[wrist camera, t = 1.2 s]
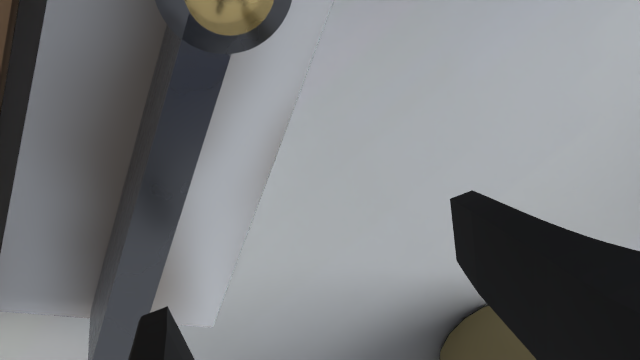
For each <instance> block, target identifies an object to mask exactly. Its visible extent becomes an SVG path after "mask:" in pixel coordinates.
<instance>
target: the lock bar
mask: <svg viewBox="0 0 640 360" xmlns="http://www.w3.org/2000/svg"><path fill="white" fill-rule="evenodd" d="M155 2H156V5H157V7H158V10H159V12H160V14H161V16H162V18H163V19H164V21H165V22H166V24H167V26H166V29H165V33H164V37H163V41H162V44H161V48H160V52H159V56H158V59H157V63H156V67H155V71H154V74H153V78H152V82H151V86H150V89H149V93H148V97H147V101H146V104H145V108H144V112H143V116H142V119H141V123H140V127H139V131H138V134H137V138H136V142H135V146H134V149H133V153H132V157H131V161H130V164H129V168H128V172H127V176H126V179H125V183H124V187H123V191H122V194H121V198H120V202H119V206H118V209H117V213H116V217H115V221H114V224H113V228H112V232H111V236H110V239H109V243H108V247H107V251H106V254H105V258H104V262H103V266H102V269H101V273H100V277H99V281H98V284H97V288H96V292H95V296H94V299H93V303H92V307H91V311H90V331H89V353H88V360H128V358H129V355H130V351H131V348H132V345H133V341H134V337H135V334H136V330H137V326H138V322H139V320H140V318H141V316H143V315H146V314H148V313H150V311H151V308H152V305H153V301H154V298H155V295H156V292H157V289H158V285H159V282H160V279H161V276H162V273H163V270H164V266H165V263H166V260H167V257H168V254H169V251H170V247H171V244H172V241H173V238H174V235H175V232H176V228H177V225H178V222H179V219H180V216H181V213H182V209H183V206H184V203H185V200H186V197H187V193H188V190H189V187H190V184H191V181H192V178H193V174H194V171H195V168H196V165H197V162H198V159H199V155H200V152H201V149H202V146H203V143H204V140H205V136H206V133H207V130H208V127H209V124H210V120H211V117H212V114H213V111H214V108H215V105H216V101H217V98H218V95H219V92H220V89H221V86H222V82H223V79H224V76H225V73H226V70H227V67H228V63H229V60H230V57H231V54H234V53H240V52H244V51H247V50H250V49H252V48H254V47H256V46H258V45H260V44H261V43H263V42H264V41H266V40H267V39H268V38H269V37H271V36H272V35H273V34H274V33H275V32H276V31H277V29H278V28H279V27H280V25H281V24H282V23H283V21H284V19H285V17H286V16H287V13H288V11H289V9H290V6H291V2H292V0H155Z"/></svg>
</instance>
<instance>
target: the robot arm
mask: <svg viewBox="0 0 640 360" xmlns="http://www.w3.org/2000/svg"><path fill="white" fill-rule="evenodd" d="M450 203H451V212H452V221H453V231H454V240H455V249H456V259H457V262H458V263H459V265H460V267H461V268H462V270H463V271H464V273H465V274H466V276H467V277H468V279H469V280H470V282H471V283H472V285H473V286H474V288H475V289H476V290H477V292H478V293H479V294H480V296H481V297H482V298H483V299H484V300H485V301H486V303H487V304H488V305H489V306H490V307H491V308H492V310H493V311H494V312H495V313H496V314H497V315H498V316H499V318H500V319H501V320H502V321H503V322H504V323H505V324H506V325H507V327H508V328H509V329H510V330H511V331H512V332H513V333H514V335H515V336H516V337H517V338H518V339H519V340H520V341H521V342H522V344H523V345H524V346H525V347H526V348H527V349H528V350H529V352H530V353H531V354H532V355H533V356H534V357H535V358H536V360H640V251H636V250H632V249H628V248H625V247H621V246H617V245H614V244H610V243H606V242H603V241H600V240H596V239H593V238H590V237H587V236H584V235H581V234H578V233H576V232H573V231H570V230H567V229H564V228H561V227H559V226H556V225H553V224H551V223H548V222H546V221H543V220H541V219H538V218H536V217H533V216H531V215H529V214H526V213H524V212H521V211H519V210H517V209H514V208H512V207H510V206H507V205H505V204H503V203H501V202H498V201H496V200H494V199H491V198H489V197H487V196H484V195H482V194H480V193H477V192H475V191H470V192H467V193H464V194H462V195H459V196H456V197H454V198H451V199H450ZM128 360H194V358H193V356H192V354H191V352H190V350H189V348H188V346H187V344H186V342H185V340H184V338H183V336H182V334H181V332H180V330H179V328H178V326H177V324H176V322H175V320H174V318H173V316H172V314H171V312H170V310H169V308H168V306H167V307H164V308H161V309H159V310H156V311H154V312H151V313H148V314H146V315H143V316H141V318H140V320H139V322H138V326H137V330H136V334H135V337H134V341H133V345H132V348H131V351H130V355H129V358H128Z"/></svg>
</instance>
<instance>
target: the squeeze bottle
mask: <svg viewBox="0 0 640 360" xmlns="http://www.w3.org/2000/svg"><path fill="white" fill-rule="evenodd" d="M440 360H536V358H535V357H534V356H533V355H532V354H531V353H530V352H529V350H528V349H527V348H526V347H525V346H524V345H523V344H522V342H521V341H520V340H519V339H518V338H517V337H516V336H515V335H514V333H513V332H512V331H511V330H510V329H509V328H508V327H507V325H506V324H505V323H504V322H503V321H502V320H501V319H500V318H499V316H498V315H497V314H496V313H495V312H494V311H493V310H492V308H491V307H490V306H486V307H483V308H482V309H480V310H478V311H477V312H475V313H473V314H472V315H470V316H468V317H467V318H465V319H464V320H463V321H462V322H461V323H460V324H459V325H458V326H457V327H456V328H455V329H454V330H453V331H452V332H451V333H450V334H449V336H448V338H447V340H446V342H445V343H444V345H443V347H442V349H441V351H440Z"/></svg>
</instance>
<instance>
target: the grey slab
mask: <svg viewBox="0 0 640 360" xmlns="http://www.w3.org/2000/svg"><path fill="white" fill-rule="evenodd" d="M333 2H334V0H292V2H291V6H290V9H289V11H288V13H287V16H286V17H285V19H284V21H283V23H282V24H281V25H280V27H279V28H278V29H277V31H276V32H275V33H274V34H273V35H272V36H271V37H269V38H268V39H267V40H266V41H264V42H263V43H261V44H260V45H258V46H256V47H254V48H252V49H250V50H247V51H244V52H240V53H234V54H231V57H230V60H229V63H228V67H227V70H226V73H225V76H224V79H223V82H222V86H221V89H220V92H219V95H218V98H217V101H216V105H215V108H214V111H213V114H212V117H211V120H210V124H209V127H208V130H207V133H206V136H205V140H204V143H203V146H202V149H201V152H200V155H199V159H198V162H197V165H196V168H195V171H194V174H193V178H192V181H191V184H190V187H189V190H188V193H187V197H186V200H185V203H184V206H183V209H182V213H181V216H180V219H179V222H178V225H177V228H176V232H175V235H174V238H173V241H172V244H171V247H170V251H169V254H168V257H167V260H166V263H165V266H164V270H163V273H162V276H161V279H160V282H159V285H158V289H157V292H156V295H155V298H154V301H153V305H152V308H151V311H150V313H151V312H154V311H156V310H159V309H161V308H164V307H167V306H168V308H169V310H170V312H171V314H172V316H173V318H174V320H175V322H176V324H177V325H185V326H198V327H211V328H213V326H214V323H215V320H216V318H217V315H218V312H219V310H220V307H221V304H222V302H223V299H224V296H225V293H226V291H227V288H228V285H229V283H230V280H231V277H232V275H233V272H234V269H235V267H236V264H237V261H238V258H239V256H240V253H241V250H242V248H243V245H244V242H245V240H246V237H247V234H248V231H249V229H250V226H251V223H252V221H253V218H254V215H255V213H256V210H257V207H258V204H259V202H260V199H261V196H262V194H263V191H264V188H265V186H266V183H267V180H268V177H269V175H270V172H271V169H272V167H273V164H274V161H275V159H276V156H277V153H278V150H279V148H280V145H281V142H282V140H283V137H284V134H285V132H286V129H287V126H288V123H289V121H290V118H291V115H292V113H293V110H294V107H295V105H296V102H297V99H298V96H299V94H300V91H301V88H302V86H303V83H304V80H305V78H306V75H307V72H308V70H309V67H310V64H311V61H312V59H313V56H314V53H315V51H316V48H317V45H318V43H319V40H320V37H321V34H322V32H323V29H324V26H325V24H326V21H327V18H328V16H329V13H330V10H331V7H332V5H333ZM18 6H19V0H0V114H1V108H2V102H3V96H4V90H5V84H6V78H7V72H8V66H9V60H10V54H11V48H12V42H13V36H14V30H15V24H16V18H17V12H18ZM166 26H167V24H166V22H165V21H164V19H163V18H162V16H161V14H160V12H159V10H158V7H157V5H156V2H155V0H47V5H46V10H45V16H44V21H43V27H42V32H41V37H40V43H39V48H38V54H37V59H36V64H35V70H34V75H33V80H32V86H31V91H30V97H29V102H28V107H27V113H26V118H25V124H24V129H23V134H22V140H21V145H20V151H19V156H18V161H17V167H16V172H15V178H14V183H13V188H12V194H11V199H10V205H9V210H8V215H7V221H6V226H5V232H4V237H3V242H2V248H1V253H0V311H1V312H15V313H28V314H41V315H54V316H67V317H80V318H90V311H91V307H92V303H93V299H94V296H95V292H96V288H97V284H98V281H99V277H100V273H101V269H102V266H103V262H104V258H105V254H106V251H107V247H108V243H109V239H110V236H111V232H112V228H113V224H114V221H115V217H116V213H117V209H118V206H119V202H120V198H121V194H122V191H123V187H124V183H125V179H126V176H127V172H128V168H129V164H130V161H131V157H132V153H133V149H134V146H135V142H136V138H137V134H138V131H139V127H140V123H141V119H142V116H143V112H144V108H145V104H146V101H147V97H148V93H149V89H150V86H151V82H152V78H153V74H154V71H155V67H156V63H157V59H158V56H159V52H160V48H161V44H162V41H163V37H164V33H165V29H166Z"/></svg>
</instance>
